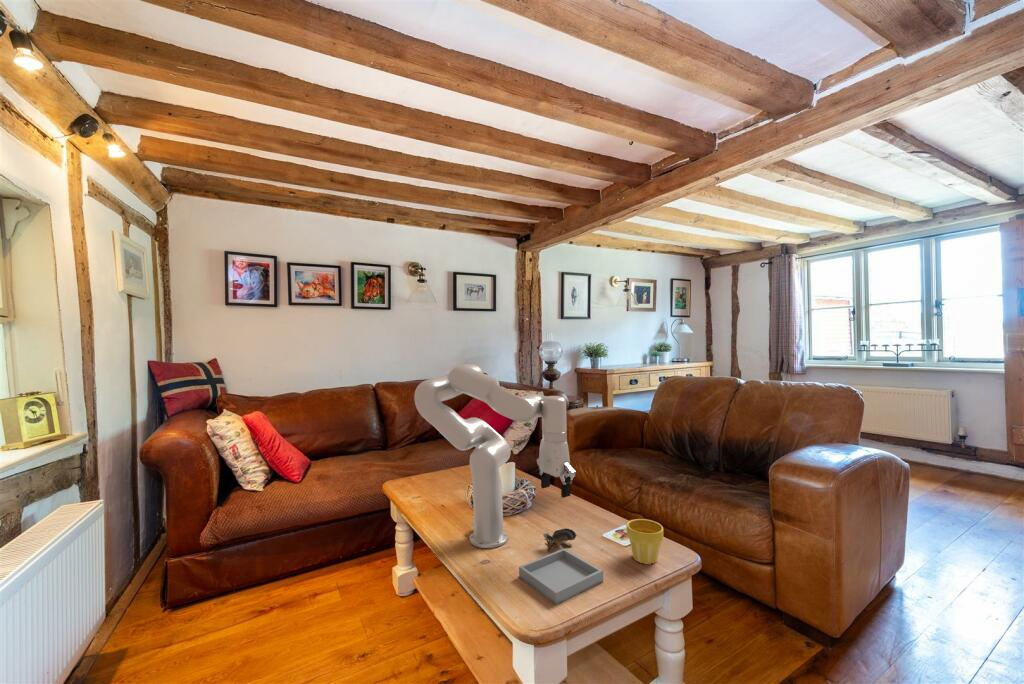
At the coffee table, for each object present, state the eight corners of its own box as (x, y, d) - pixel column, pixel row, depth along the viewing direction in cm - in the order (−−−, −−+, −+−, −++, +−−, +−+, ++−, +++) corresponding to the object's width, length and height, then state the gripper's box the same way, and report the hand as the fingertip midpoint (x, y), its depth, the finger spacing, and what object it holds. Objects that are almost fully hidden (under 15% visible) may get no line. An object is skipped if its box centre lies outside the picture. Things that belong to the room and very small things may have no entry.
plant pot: (656, 549, 134) (655, 517, 134) (669, 567, 123) (668, 532, 123) (623, 550, 133) (622, 519, 133) (633, 568, 123) (632, 534, 123)
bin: (519, 577, 120) (518, 566, 120) (564, 558, 130) (564, 548, 130) (556, 605, 107) (556, 593, 107) (603, 581, 117) (603, 570, 117)
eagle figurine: (558, 555, 129) (581, 542, 134) (547, 532, 132) (569, 519, 136) (548, 559, 135) (570, 546, 140) (537, 537, 138) (559, 524, 142)
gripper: (528, 433, 139) (529, 486, 139) (563, 444, 125) (564, 503, 125) (546, 430, 143) (547, 481, 144) (583, 440, 129) (583, 497, 129)
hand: (555, 491), depth 134 cm, fingers open, 9 cm apart
